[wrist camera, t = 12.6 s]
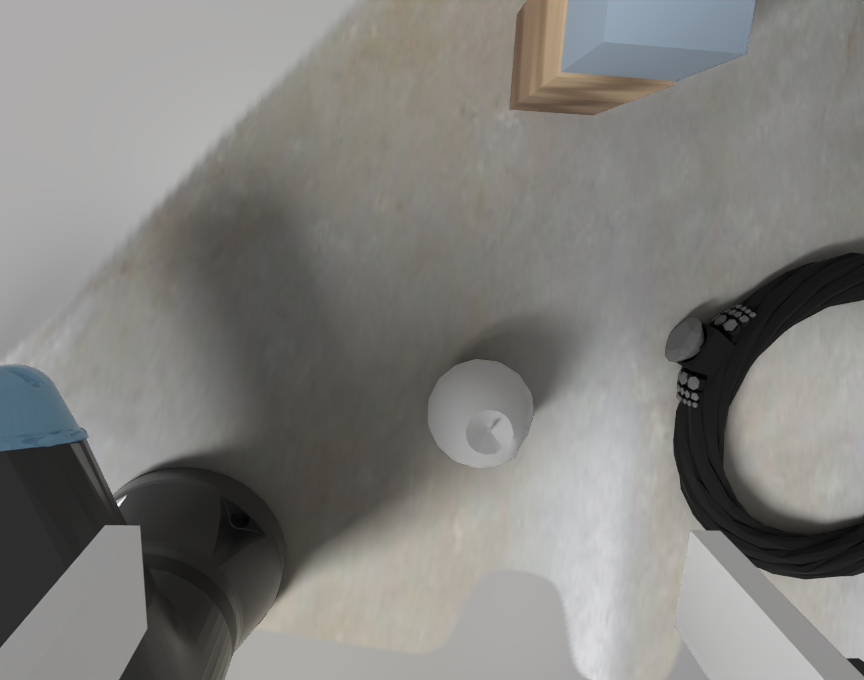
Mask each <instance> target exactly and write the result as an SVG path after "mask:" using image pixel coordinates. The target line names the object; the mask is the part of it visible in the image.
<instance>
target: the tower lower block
mask: <svg viewBox="0 0 864 680" xmlns="http://www.w3.org/2000/svg"><path fill="white" fill-rule="evenodd" d="M537 3H538V0H527V1H526V3H525V4H524V5H523V7H522V8H521V10H520V11H519V12H518V14H517V22H516V34H515V47H514V59H513V72H512V84H511V97H510V110H525V111H539V112H554V113H568V114H583V115H595V114H598V113H601V112H603V111H606V110H608V109H611V108H614V107H616V106H619V105H621V104H624V103H621V102H608V101H594V100H580V99H567V98H553V97H540V96H529V92H530V81H531V70H532V59H533V48H534V37H535V26H536V14H537Z"/></svg>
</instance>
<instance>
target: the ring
mask: <svg viewBox="0 0 864 680" xmlns="http://www.w3.org/2000/svg"><path fill="white" fill-rule="evenodd" d="M861 300H864V254H861V253H849V254H845V255H842V256H838V257H835V258H832V259H828V260H825V261H822V262H817V263H810V264H807V265H804V266H802V267H799V268H797V269H794V270H792V271H789V272H787V273H785V274H783V275H782V276H780V277H778V278H777V279H775V280H774V281H772V282H770V283H769V284H767V285H765V286H764V287H762V288H760V289H759V290H758V291H756V292H755V293H754V294H753V295H751V296H750V297H749V298H748V299H746V300H745V301H744V302H743V303H741V304H740V305H739V304H738V305H734V306H731V307H730V309H726V310H725V311H723V312H721V313H720V314H721V316H720V314H719V315H717V316H716V317H714V318H713V319H712V320H711V322H710V324H712V325H711V326H712V327H714V328H712V327H710V326H708V325H705V324H703V323H701V321H700V320H699V319H698V318H697V317H688V318H686V319H685V320H683V321H682V322H680V323H679V324H678V325H677V326H676V327H675V328H674V329H673V330H672V332H671V333H670V335H669V337H668V340H667V343H666V349H665V356H666V358H667V359H668V360H669V361H672V362H677V363H679V364H681V365H682V366H684V367H686V368H687V369H689V370H691V372H690V371H688V370H686V369H684V371H683V369H681V370H680V371H679V375H678V381H679V380H680V382H678V381H677V389H678V392H677V398H678V400H679V401H680V403H679V405H678V408H677V410H676V419H675V429H674V439H673V444H674V457H675V461H676V465H677V469H678V472H679V475H680V485H681V490H682V492H683V494H684V497H685V499H686V501H687V503H688V505H689V507H690V509H691V511H692V513H693V515H694V516H695V518H696V519H697V520H698V521H699V522H700V524H701V525H702V526H703V527H704V528H705V529H706V531H721V532H722V533H723V534H724V535H725V536H726V537H727V538H728V539H729V540H730V541H731V542H732V543H733V544H734V545H735V546H736V547H737V548H738V549H739V550H740V551H741V552H742V553H743V554H744V555H745V556H746V557H747V558H748V559H749V560H750V562H751V563H752V564H753V565H754V566H755V567H757V568H761V569H763V570H765V571H768V572H770V573H772V574H777V575H782V576H788V577H794V578H800V579H815V578H826V577H836V576H854V575H857V574H861V573H864V523H863V524H861V525H856V526H853V527H850V528H846V529H843V530H839V531H836V532H832V533H828V534H821V535H814V536H808V535H801V534H794V533H788V532H784V531H781V530H778V529H775V528H771V527H768V526H765V525H763V524H762V523H760V522H759V521H757V520H756V519H754V518H753V517H751V516H750V515H749V514H748V513H747V512H746V511H745V509H744V508H743V507H742V505H741V504H740V503H739V501H738V500H737V498H736V496H735V494H734V492H733V490H732V488H731V486H730V484H729V482H728V480H727V478H726V476H725V473H724V468H723V454H724V431H725V425H726V420H727V415H728V409H729V406H730V404H731V402H732V400H733V399H734V397H735V395H736V393H737V391H738V389H739V387H740V385H741V383H742V382H743V380H744V378H745V376H746V374H747V372H748V370H749V368H750V367H751V366H752V364H753V363H754V362H755V360H756V359H757V357H758V356H759V355H761V354H762V353H763V352H764V351H765V350H766V349H767V348H768V347H769V346H770V345H771V344H772V343H773V342H774V341H775V340H776V339H777V338H779V337H780V336H781V335H782V334H783V333H784V332H785V331H787V330H788V329H789V328H791V327H792V326H793V325H795V324H797V323H799V322H800V321H802V320H804V319H806V318H808V317H810V316H812V315H814V314H816V313H817V312H819V311H821V310H823V309H825V308H827V307H830V306H834V305H840V304H845V303H850V302H856V301H861ZM715 328H716V329H715Z"/></svg>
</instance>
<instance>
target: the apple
mask: <svg viewBox="0 0 864 680" xmlns="http://www.w3.org/2000/svg"><path fill="white" fill-rule="evenodd" d="M533 416H534V407H533V396H532V394H531V392H530V390H529V389H528V387H527V386H526V384H525V383H524V381H523V379H522V378H521V376H520V375H519V374H518V373H517V372H515V371H514V370H512V369H510V368H509V367H507V366H505V365H504V364H502V363H500V362H497V361H490V360H482V359H474V360H470V361H467V362H464V363H460V364H457V365H455V366H454V367H452V368H451V369H450V370H449V371H447V372H446V373H445V374H444V375H443V376H441V377H440V378H439V380H438V382H437V384H436V385H435V387H434V389H433V391H432V393H431V395H430V397H429V399H428V420H427V421H428V426H429V428H430V431H431V433H432V435H433V438H434V440H435V442H436V444H437V446H438V447H439V448H440V449H441V450H442V451H443V452H445V453H446V454H447V455H448V456H449V457H450V458H451V459H453V460H454V461H455V462H458V463H461V464H464V465H467V466H471V467H474V468H487V467H497V466H499V465H501V464H503V463H505V462H507V461H509V460H511V459H513V458H515V457H516V455H517V452H518V450H519V447H520V445H521V443H522V442H523V441H524V439H525V438H526V436H527V435H528V432H529V429H530V425H531V422H532V419H533Z"/></svg>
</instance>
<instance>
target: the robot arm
mask: <svg viewBox="0 0 864 680" xmlns="http://www.w3.org/2000/svg"><path fill="white" fill-rule="evenodd" d="M86 438H88V434H87V432H86V431H85V429H83V428H80V427H79V426H78V424H77V422H76V421H75V419H74V417H73V416H72V414H71V412H70V411H69V409H68V407H67V405H66V404H65V402H64V400H63V399H62V397H61V395H60V393H59V391H58V390H57V388H56V386H55V384H54V383H53V382H52V380H51V379H50V378H49V377H48V376H47V375H45V374H44V373H43V372H41V371H39V370H37V369H35V368H32V367H29V366H25V365H1V366H0V680H225V677H226V674H227V671H228V667H229V665H230V661H231V658H232V656H233V653H234V652H235V651H236V649H237V648H238V647H239V646H240V645H241V644H242V643H243V642H244V640H245V639H246V638H247V637H248V635H249V634H250V633H251V632H252V631H253V630H254V628H255V627H256V626H257V625H258V624H259V623H260V622H261V621H262V620H263V618H264V617H265V616H266V614H267V613H268V611H269V610H270V608H271V606H272V604H273V602H274V600H275V598H276V595H277V593H278V589H279V586H280V583H281V579H282V575H283V571H284V566H285V545H284V539H283V535H282V532H281V529H280V527H279V524H278V522H277V520H276V518H275V517H274V515H273V514H272V512H271V511H270V509H269V508H268V507H267V505H266V504H265V503H264V502H263V501H262V500H261V499H260V498H259V497H258V496H257V495H256V494H255V493H254V492H252V491H251V490H250V489H248V488H247V487H245V486H244V485H242V484H241V483H239V482H237V481H235V480H233V479H231V478H229V477H227V476H224V475H221V474H218V473H215V472H211V471H207V470H202V469H194V468H172V469H165V470H160V471H155V472H152V473H149V474H146V475H143V476H141V477H139V478H137V479H135V480H133V481H131V482H129V483H128V484H126V485H125V486H123V487H122V488H121V489H119V490H118V491H117V492H116V493H115V494H114V495H112V493H111V491H110V489H109V487H108V484H107V482H106V480H105V478H104V476H103V474H102V472H101V470H100V468H99V465H98V463H97V461H96V459H95V457H94V455H93V453H92V451H91V449H90V446H89V444H88V442H87V440H86ZM674 627H675V629H676V630H677V632H678V633H679V635H680V636H681V638H682V639H683V641H684V642H685V644H686V645H687V647H688V648H689V650H690V651H691V653H692V654H693V656H694V657H695V659H696V660H697V662H698V663H699V665H700V666H701V668H702V669H703V671H704V672H705V674H706V675H707V677H708V679H709V680H864V662H863V661H862V660H860V659H859V658H850V659H846V658H845V657H844V656H843V655H842V654H841V653H840V652H839V651H838V650H837V649H836V648H835V647H834V646H833V645H832V644H831V643H830V642H829V641H828V640H827V639H826V638H825V637H824V636H823V635H822V634H821V633H820V632H819V631H818V630H817V629H816V628H815V627H814V626H813V625H812V623H811V622H810V621H809V620H808V619H807V618H806V617H805V616H804V615H803V614H802V613H801V612H800V611H799V610H798V609H797V608H796V607H795V606H794V605H793V604H792V603H791V602H790V601H789V600H788V599H787V598H786V597H785V596H784V595H783V594H782V593H781V592H780V591H779V590H778V589H777V588H776V587H775V586H774V585H773V584H772V583H771V582H770V581H769V580H768V579H767V578H766V577H765V576H764V575H763V574H762V573H761V572H760V571H759V570H758V569H757V568H756V567H755V566H754V565H753V564H752V563H751V562H750V560H749V559H748V558H747V557H746V556H745V555H744V554H743V553H742V552H741V551H740V550H739V549H738V548H737V547H736V546H735V545H734V544H733V543H732V542H731V541H730V540H729V539H728V538H727V537H726V536H725V535H724V534H723V533H722V532H721V531H693V530H691V531H690V537H689V542H688V548H687V554H686V559H685V565H684V571H683V576H682V582H681V587H680V593H679V599H678V604H677V610H676V616H675V621H674Z"/></svg>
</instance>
